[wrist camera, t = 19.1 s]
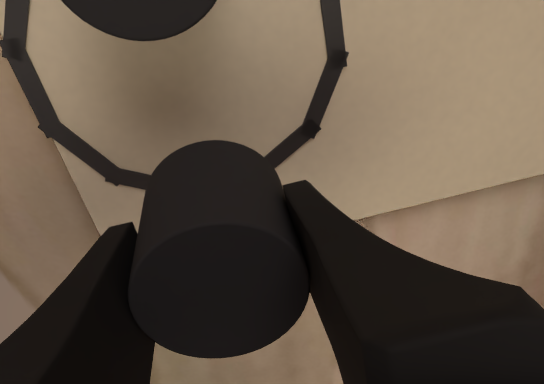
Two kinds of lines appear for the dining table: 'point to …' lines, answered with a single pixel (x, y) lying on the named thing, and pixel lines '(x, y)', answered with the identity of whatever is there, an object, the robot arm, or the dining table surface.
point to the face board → (294, 96)
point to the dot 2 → (216, 254)
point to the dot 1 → (141, 16)
